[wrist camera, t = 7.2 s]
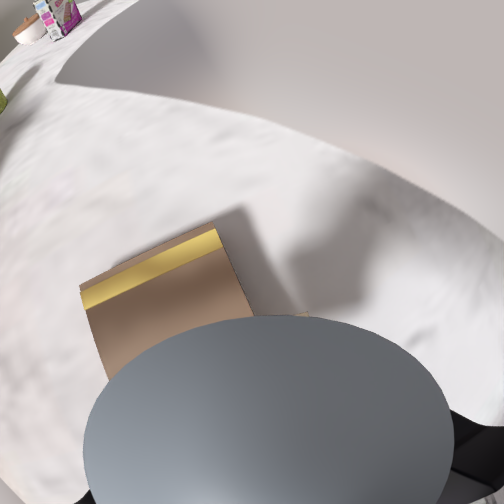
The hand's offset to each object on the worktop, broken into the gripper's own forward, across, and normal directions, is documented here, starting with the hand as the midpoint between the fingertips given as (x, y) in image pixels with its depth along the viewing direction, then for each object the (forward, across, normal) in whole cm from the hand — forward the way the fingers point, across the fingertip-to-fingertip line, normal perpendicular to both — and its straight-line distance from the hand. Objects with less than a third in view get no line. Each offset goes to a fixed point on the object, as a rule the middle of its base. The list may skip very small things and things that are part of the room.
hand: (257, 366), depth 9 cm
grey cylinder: (+4, 0, +6) cm, 7 cm away
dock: (+8, +6, +11) cm, 15 cm away
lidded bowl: (+76, +53, -58) cm, 109 cm away
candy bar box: (+67, +35, -48) cm, 89 cm away
